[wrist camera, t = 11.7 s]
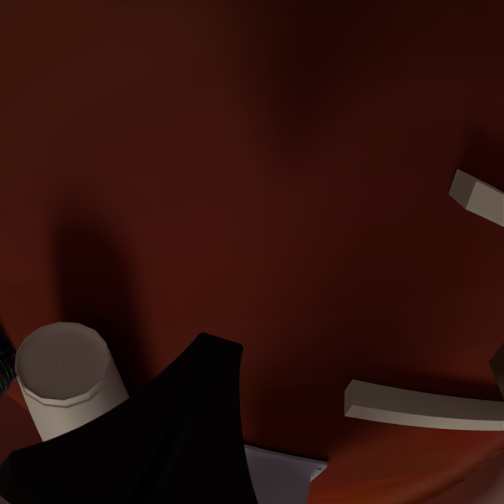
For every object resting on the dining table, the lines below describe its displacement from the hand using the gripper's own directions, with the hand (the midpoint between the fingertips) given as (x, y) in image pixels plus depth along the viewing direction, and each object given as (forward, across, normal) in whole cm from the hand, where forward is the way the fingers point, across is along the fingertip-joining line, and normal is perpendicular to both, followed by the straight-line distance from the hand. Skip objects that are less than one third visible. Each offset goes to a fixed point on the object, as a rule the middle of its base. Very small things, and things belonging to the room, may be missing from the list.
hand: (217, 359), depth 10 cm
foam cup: (+2, +9, +7) cm, 12 cm away
